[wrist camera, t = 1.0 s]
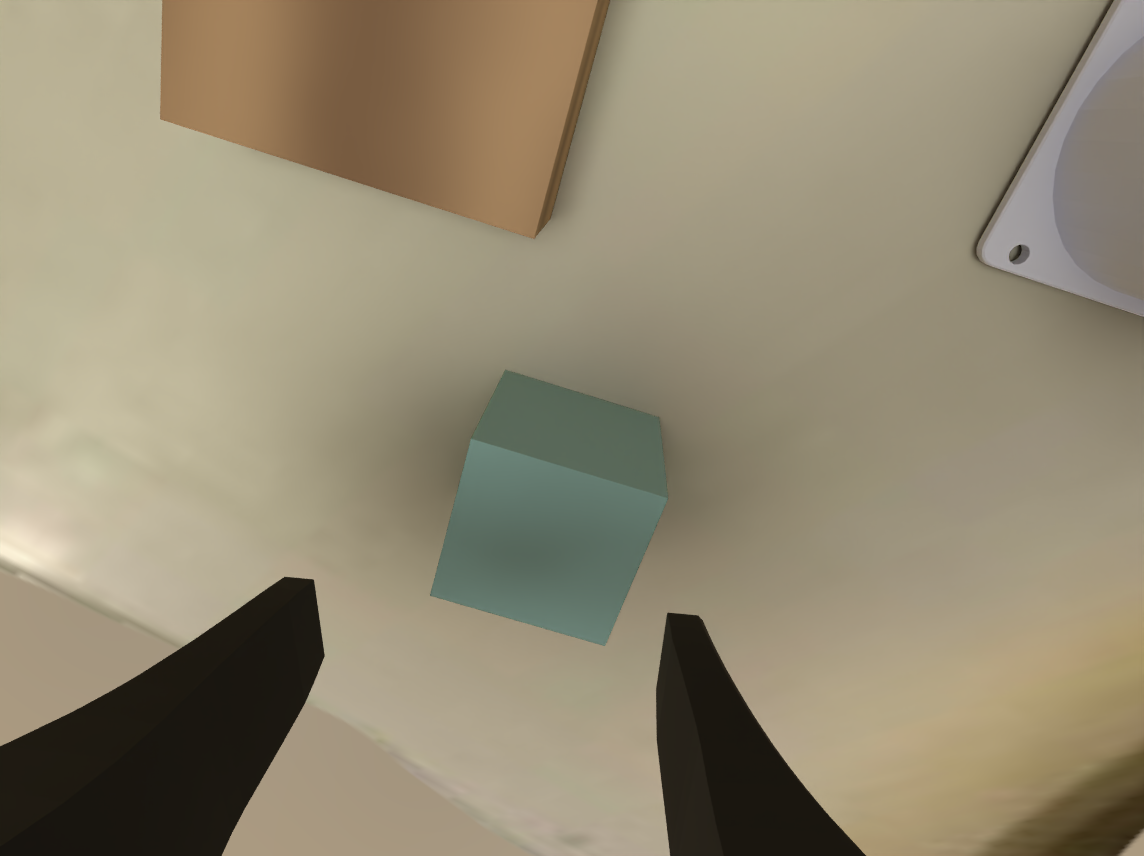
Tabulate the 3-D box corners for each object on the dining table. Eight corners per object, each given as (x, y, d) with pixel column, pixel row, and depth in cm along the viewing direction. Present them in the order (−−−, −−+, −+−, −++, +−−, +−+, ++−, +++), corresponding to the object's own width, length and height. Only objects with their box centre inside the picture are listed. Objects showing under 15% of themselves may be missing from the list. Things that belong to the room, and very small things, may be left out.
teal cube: (659, 416, 21) (668, 498, 17) (609, 541, 24) (605, 645, 19) (506, 368, 21) (470, 438, 16) (469, 500, 23) (429, 595, 19)
